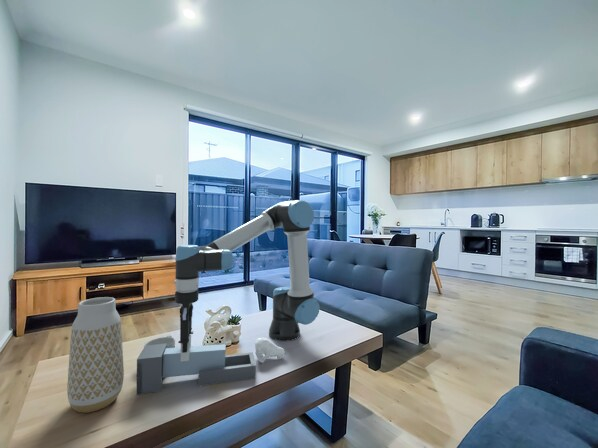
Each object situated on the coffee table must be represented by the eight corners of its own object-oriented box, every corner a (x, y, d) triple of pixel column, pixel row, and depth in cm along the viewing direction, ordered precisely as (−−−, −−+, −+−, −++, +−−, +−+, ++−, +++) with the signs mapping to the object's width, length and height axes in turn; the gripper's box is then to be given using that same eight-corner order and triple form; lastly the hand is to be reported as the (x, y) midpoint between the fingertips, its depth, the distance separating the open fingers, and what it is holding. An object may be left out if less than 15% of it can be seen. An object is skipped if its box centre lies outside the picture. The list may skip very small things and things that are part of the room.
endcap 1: (166, 374, 99) (167, 343, 99) (160, 391, 89) (161, 356, 89) (145, 377, 97) (145, 345, 97) (136, 394, 87) (136, 359, 87)
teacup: (162, 371, 101) (162, 349, 101) (136, 368, 103) (137, 346, 103) (185, 353, 114) (185, 334, 114) (162, 350, 116) (162, 332, 116)
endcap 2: (252, 363, 107) (252, 352, 107) (255, 378, 98) (255, 365, 97) (200, 370, 102) (200, 358, 102) (198, 385, 92) (198, 372, 92)
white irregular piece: (256, 334, 113) (285, 336, 115) (253, 355, 113) (282, 356, 115) (255, 341, 107) (286, 343, 109) (253, 363, 107) (284, 364, 109)
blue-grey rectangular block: (224, 365, 102) (225, 344, 101) (224, 371, 98) (225, 349, 97) (165, 370, 96) (165, 348, 96) (162, 377, 92) (163, 354, 92)
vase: (105, 384, 93) (105, 293, 92) (133, 394, 87) (134, 298, 87) (56, 409, 80) (56, 304, 80) (86, 424, 75) (86, 311, 74)
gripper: (178, 284, 103) (177, 347, 103) (170, 297, 86) (169, 371, 87) (200, 283, 105) (199, 345, 105) (196, 296, 88) (195, 368, 89)
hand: (185, 357), depth 96 cm, fingers closed on blue-grey rectangular block, 4 cm apart
